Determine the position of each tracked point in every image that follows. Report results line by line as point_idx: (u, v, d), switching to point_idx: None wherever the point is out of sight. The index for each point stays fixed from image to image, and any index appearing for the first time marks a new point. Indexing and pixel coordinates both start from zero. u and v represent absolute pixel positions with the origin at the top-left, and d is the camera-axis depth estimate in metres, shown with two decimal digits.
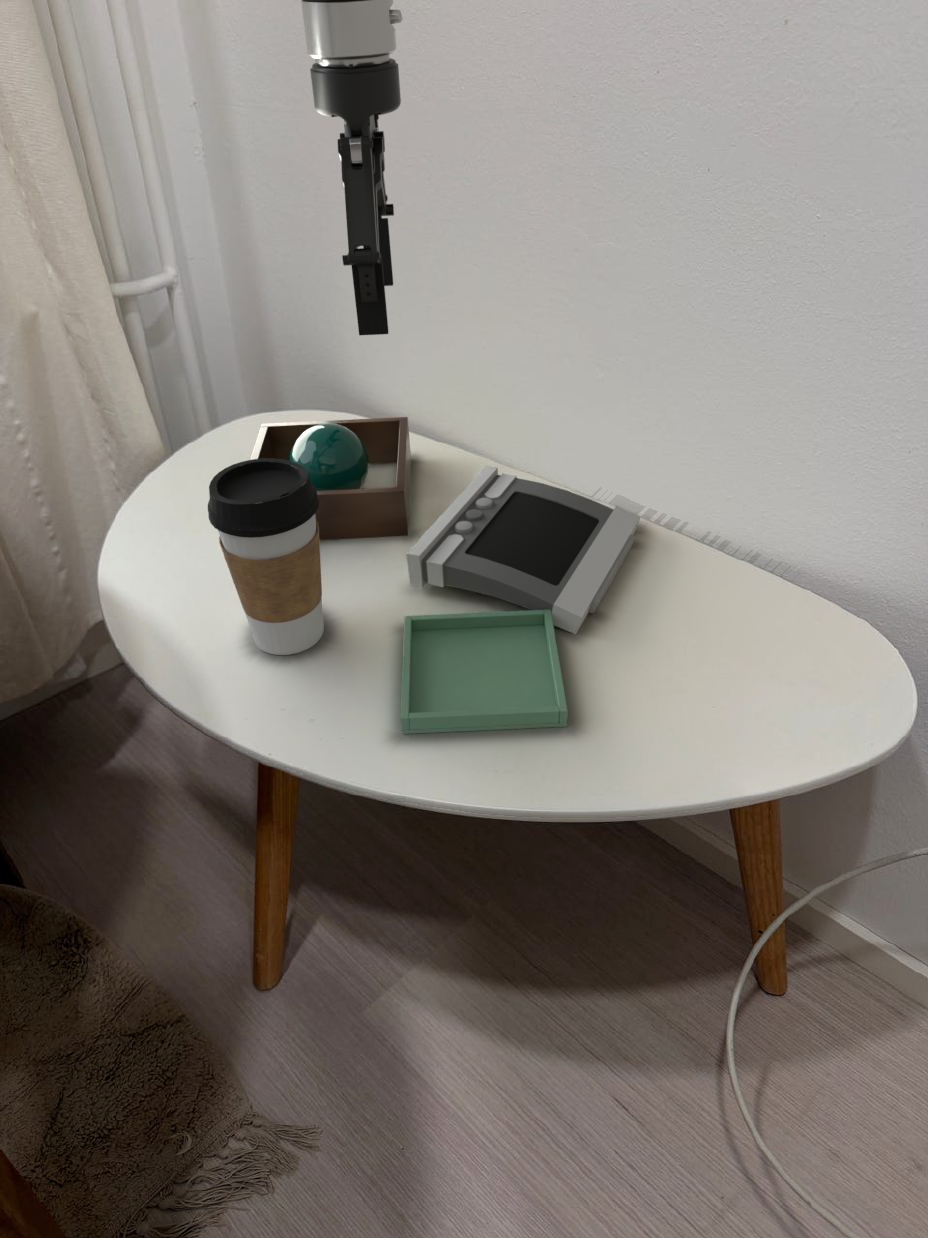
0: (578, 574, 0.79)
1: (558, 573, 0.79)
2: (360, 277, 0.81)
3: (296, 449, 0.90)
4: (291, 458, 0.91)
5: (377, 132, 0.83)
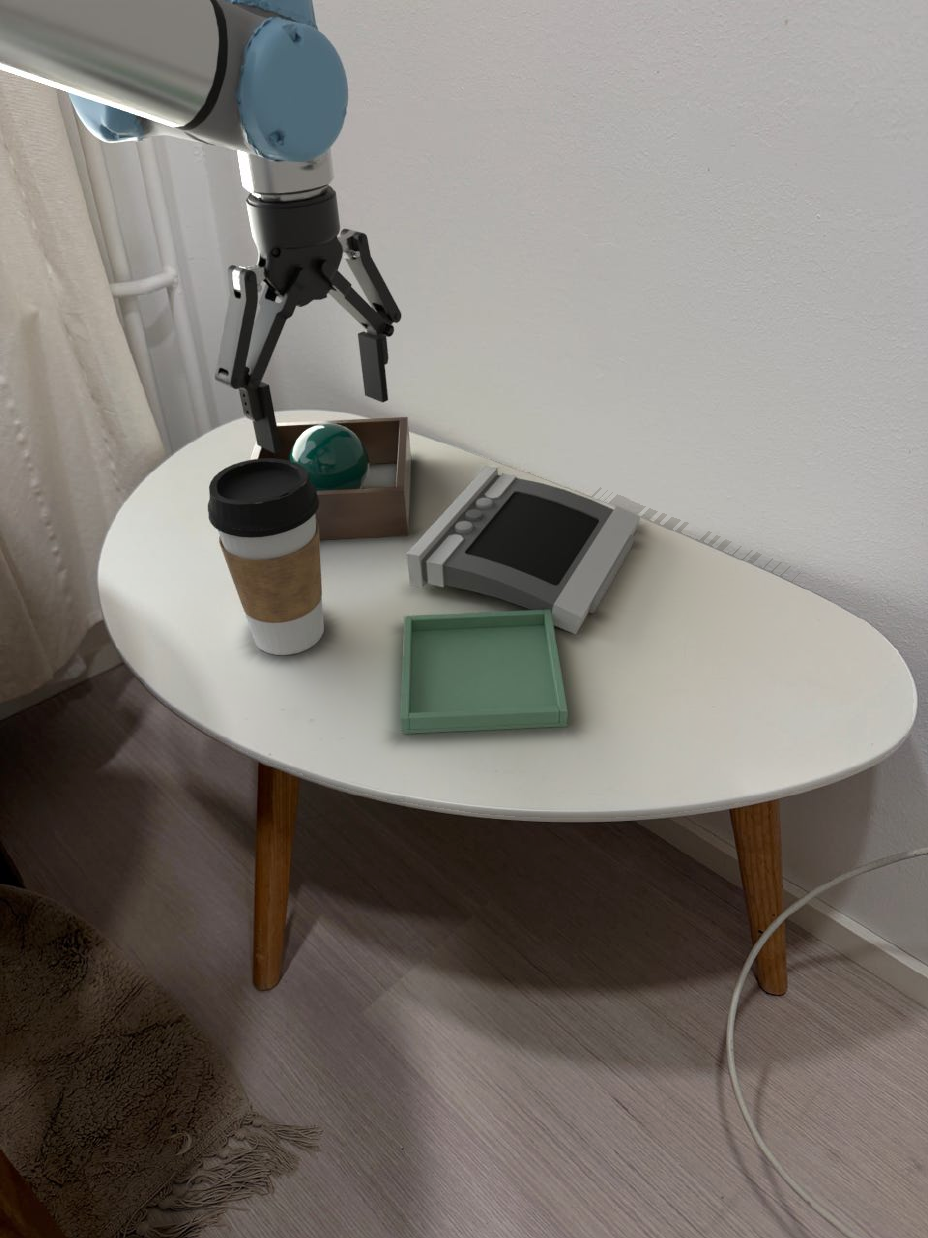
0: (578, 574, 0.79)
1: (558, 573, 0.79)
2: (240, 395, 0.82)
3: (296, 449, 0.90)
4: (291, 458, 0.91)
5: (321, 260, 0.80)
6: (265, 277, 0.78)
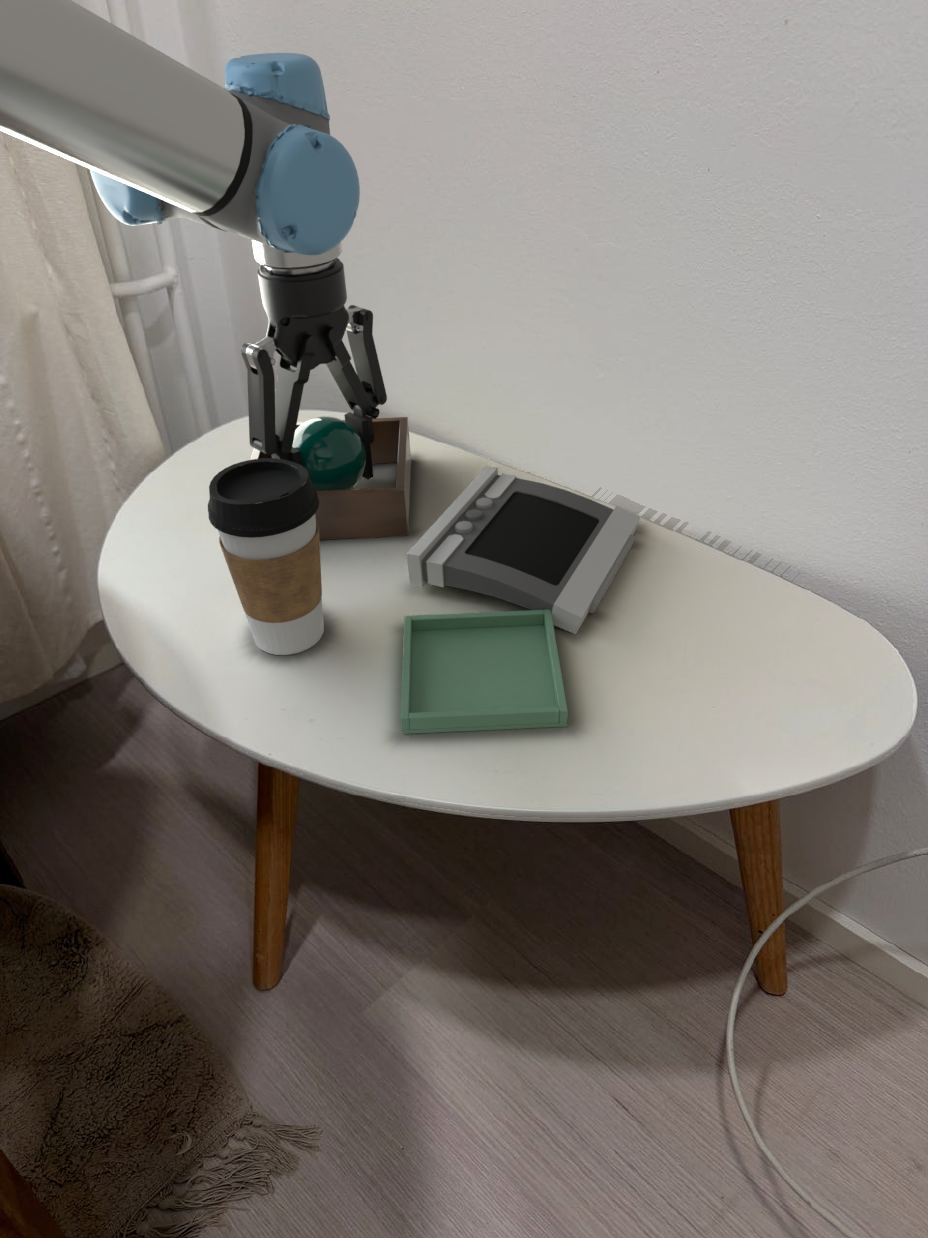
0: (578, 574, 0.79)
1: (558, 573, 0.79)
2: None
3: None
4: None
5: (327, 327, 0.84)
6: (276, 347, 0.82)
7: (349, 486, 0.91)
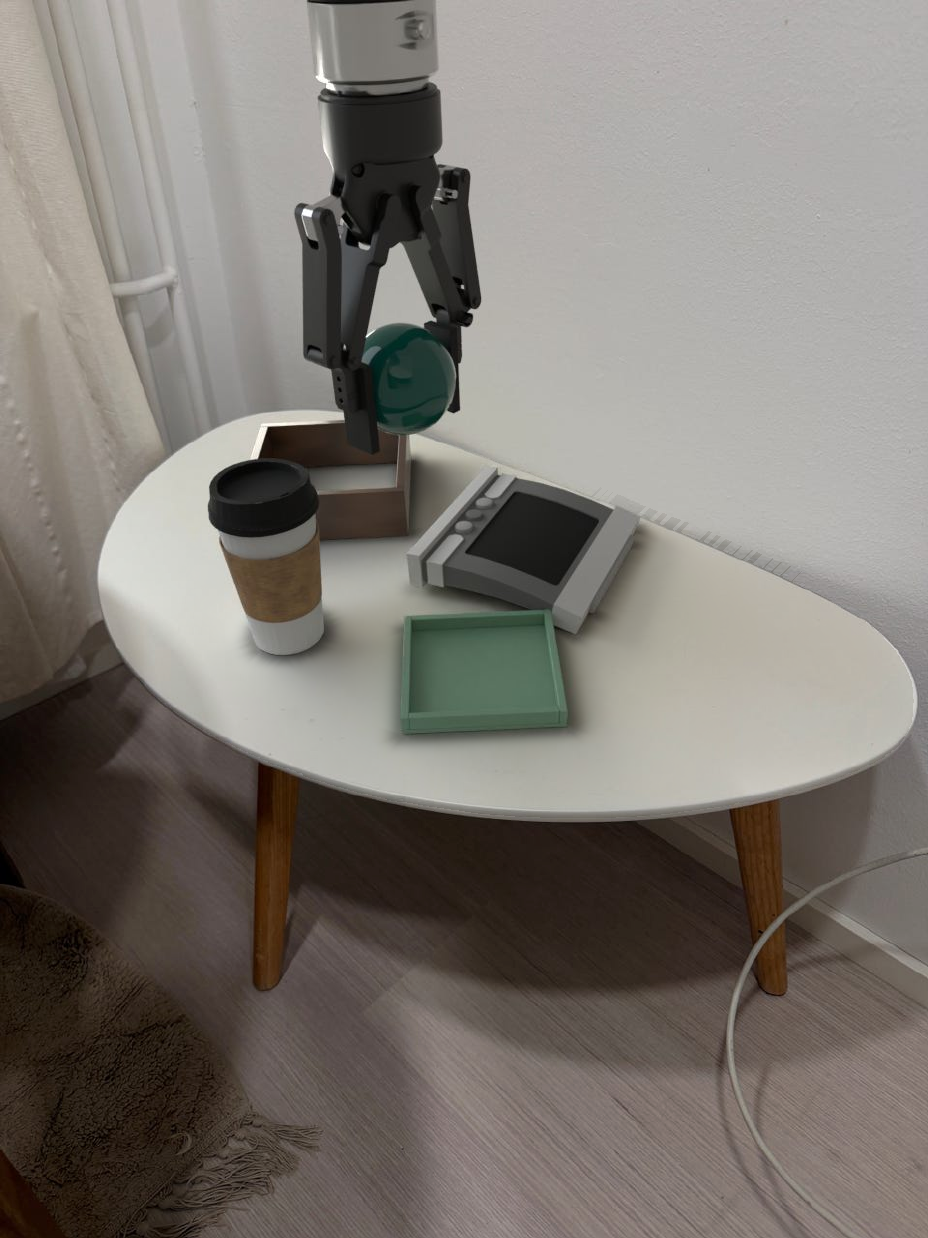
0: (578, 574, 0.79)
1: (558, 573, 0.79)
2: (333, 379, 0.63)
3: None
4: None
5: (413, 186, 0.59)
6: (344, 210, 0.57)
7: (435, 418, 0.67)
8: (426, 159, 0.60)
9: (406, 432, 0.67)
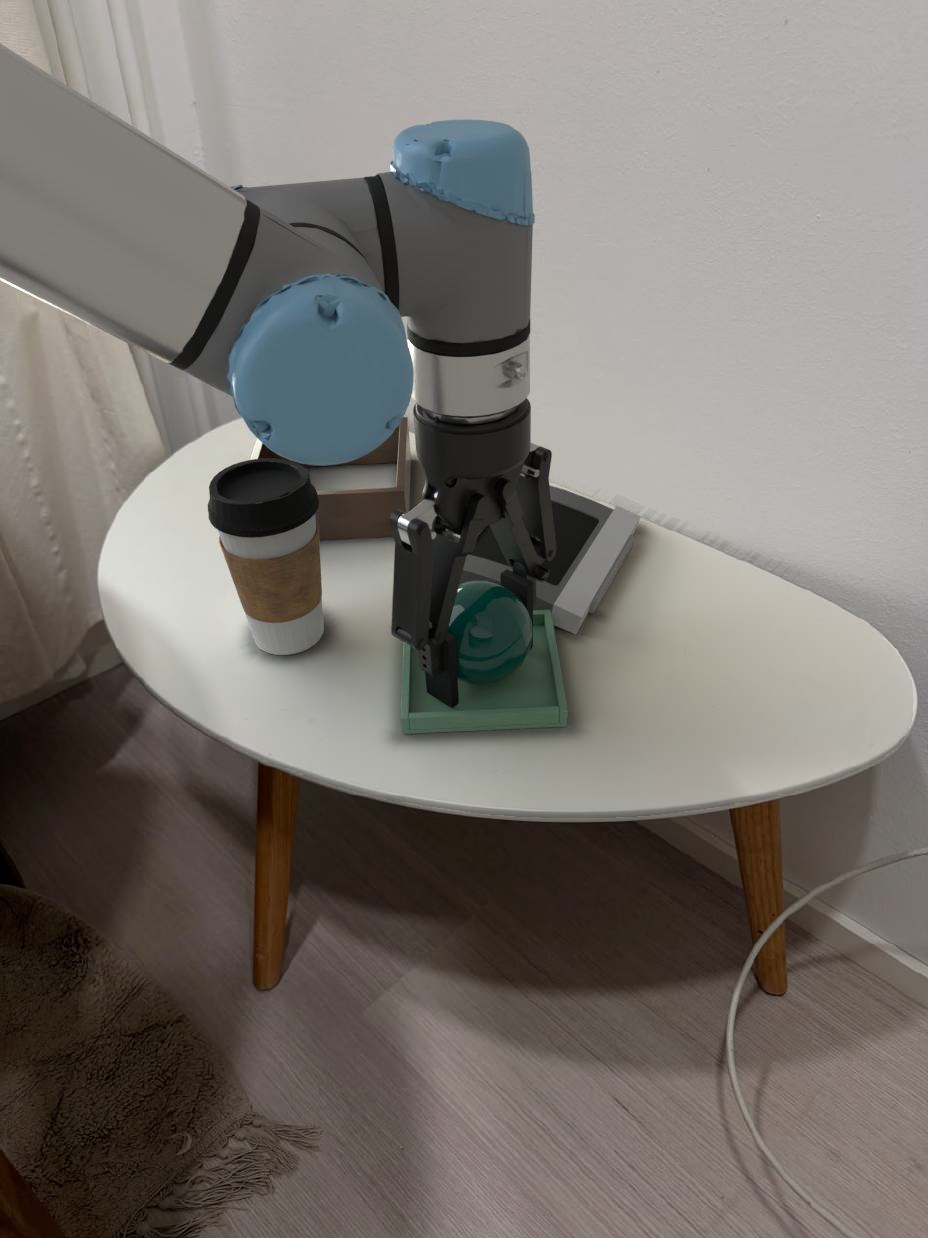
0: (578, 574, 0.79)
1: (558, 573, 0.79)
2: None
3: None
4: None
5: (500, 481, 0.62)
6: (436, 514, 0.60)
7: (512, 673, 0.69)
8: None
9: (484, 684, 0.70)
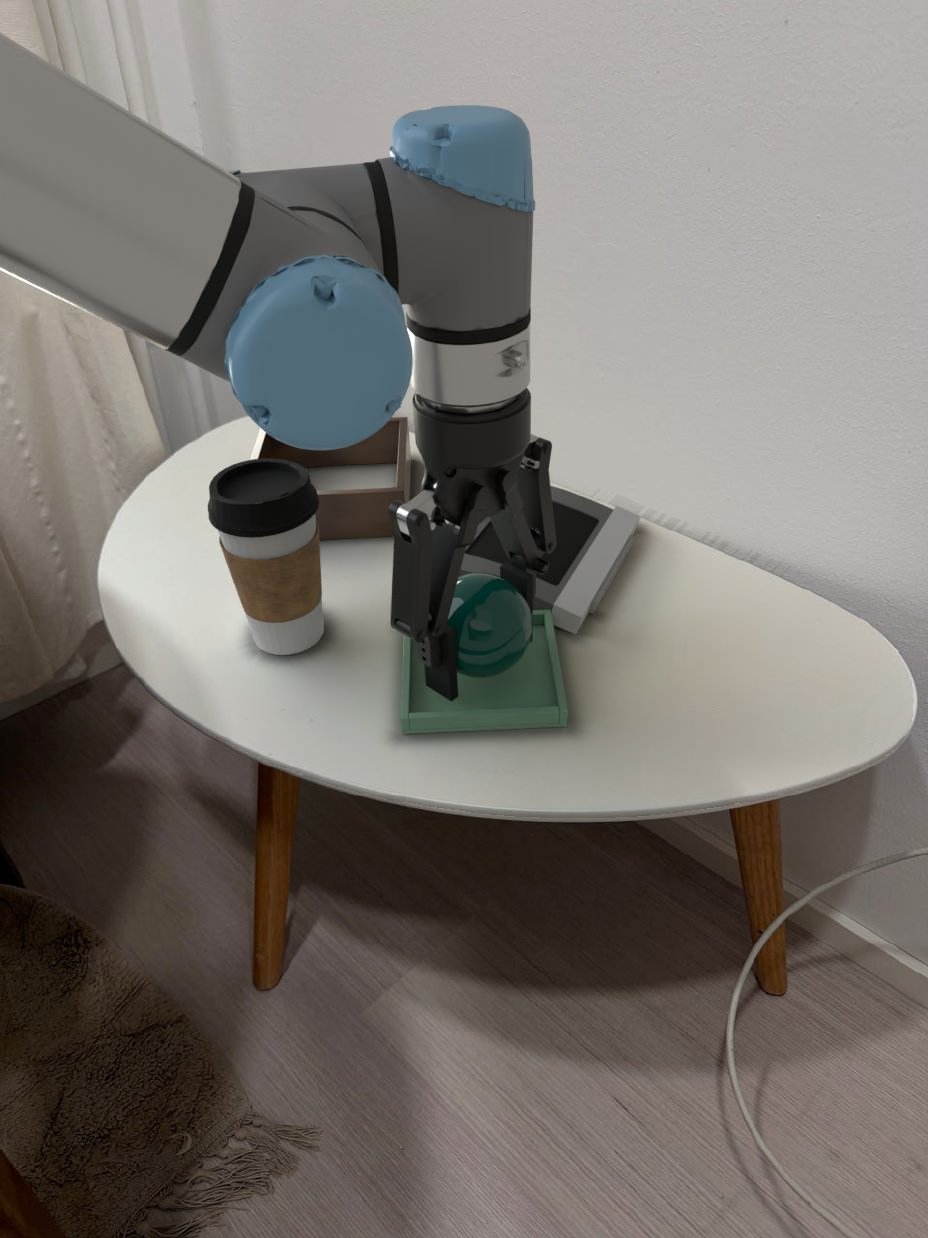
0: (578, 574, 0.79)
1: (558, 573, 0.79)
2: None
3: None
4: None
5: (500, 472, 0.61)
6: (436, 505, 0.59)
7: (512, 665, 0.69)
8: None
9: (484, 677, 0.69)
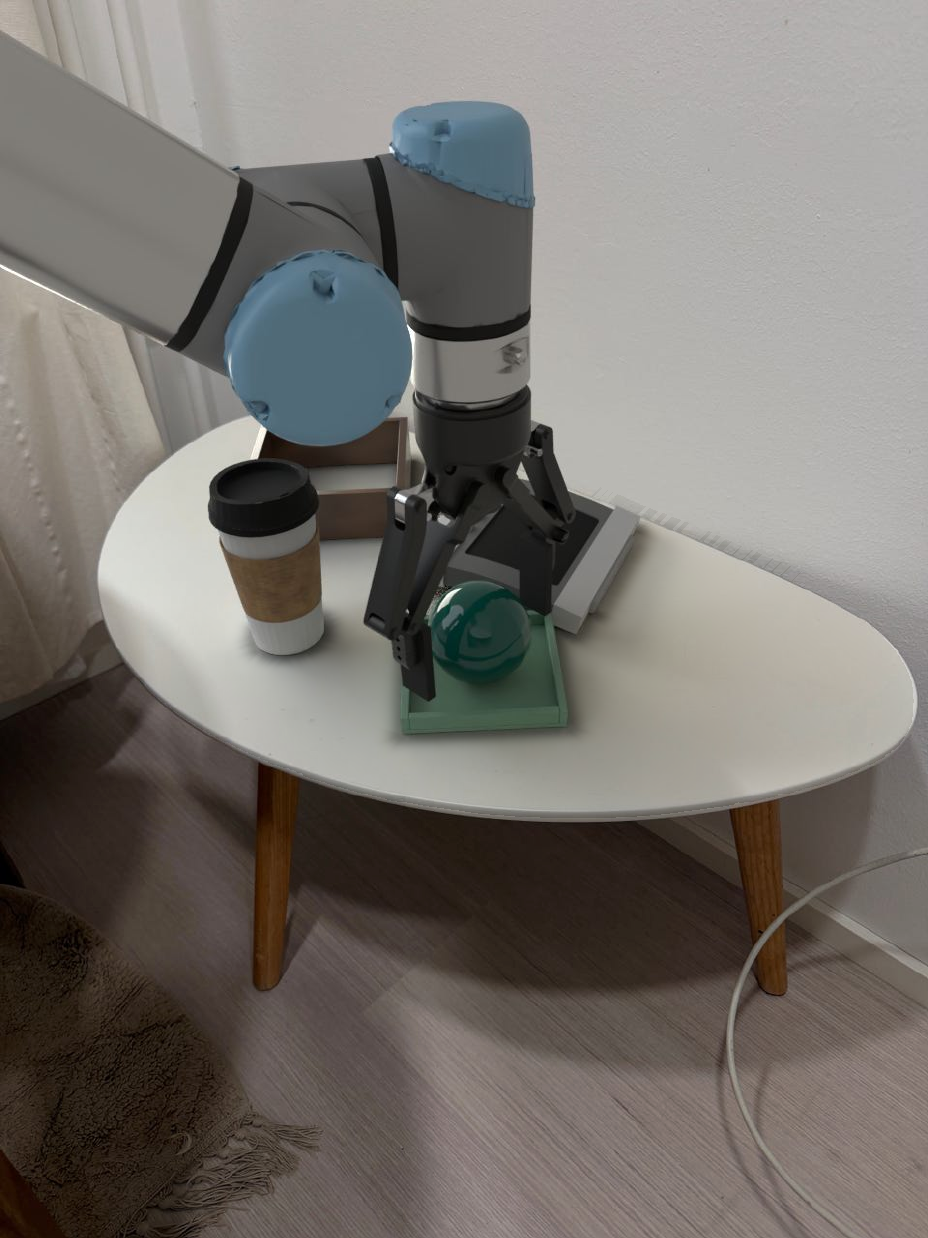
0: (578, 574, 0.79)
1: (558, 573, 0.79)
2: None
3: (440, 620, 0.67)
4: (432, 629, 0.68)
5: (500, 469, 0.61)
6: (434, 499, 0.59)
7: (511, 673, 0.69)
8: None
9: (483, 684, 0.70)
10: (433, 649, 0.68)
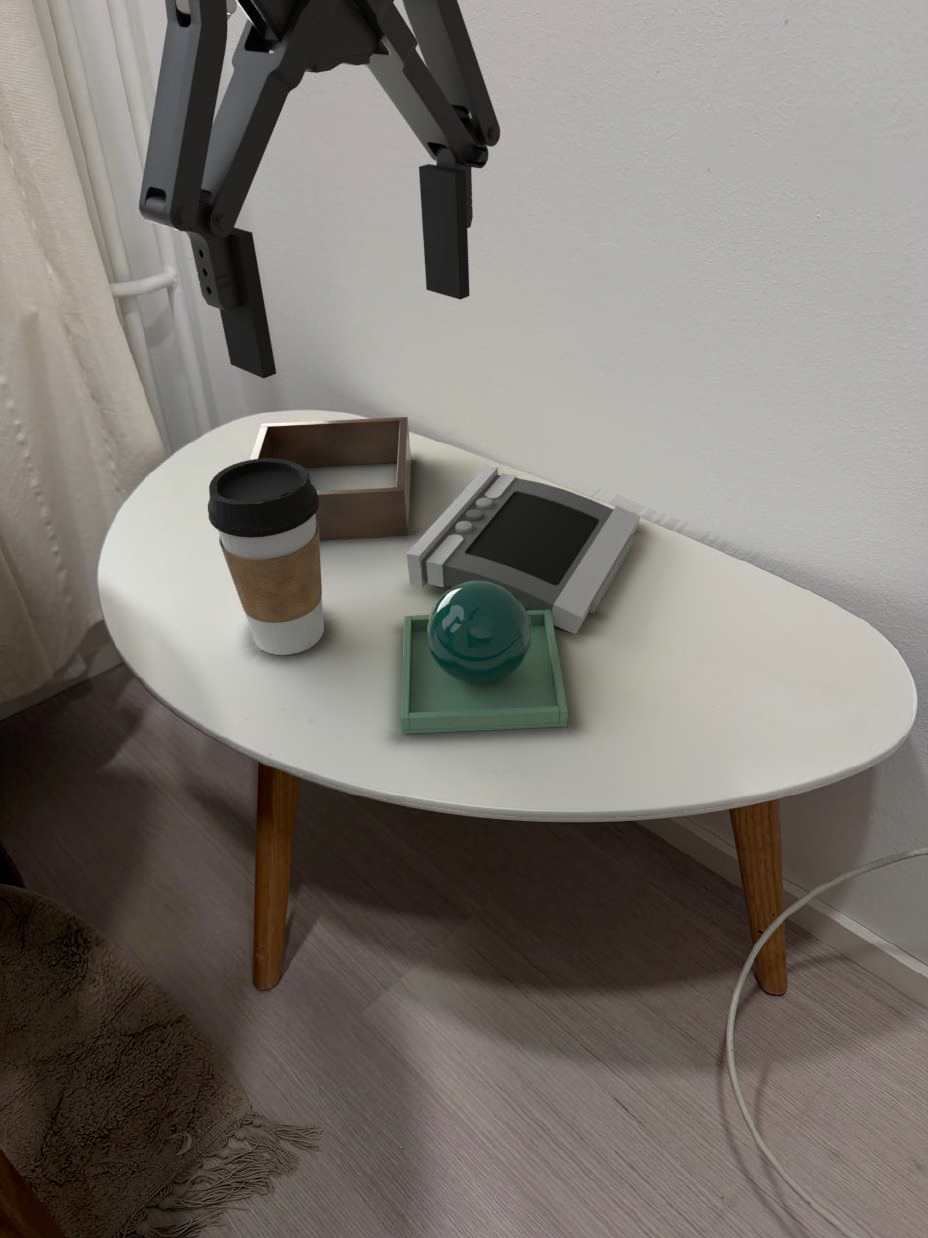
0: (578, 574, 0.79)
1: (558, 573, 0.79)
2: (195, 255, 0.41)
3: (440, 620, 0.67)
4: (432, 630, 0.68)
5: None
6: None
7: (511, 673, 0.69)
8: None
9: (483, 684, 0.70)
10: (433, 649, 0.68)
